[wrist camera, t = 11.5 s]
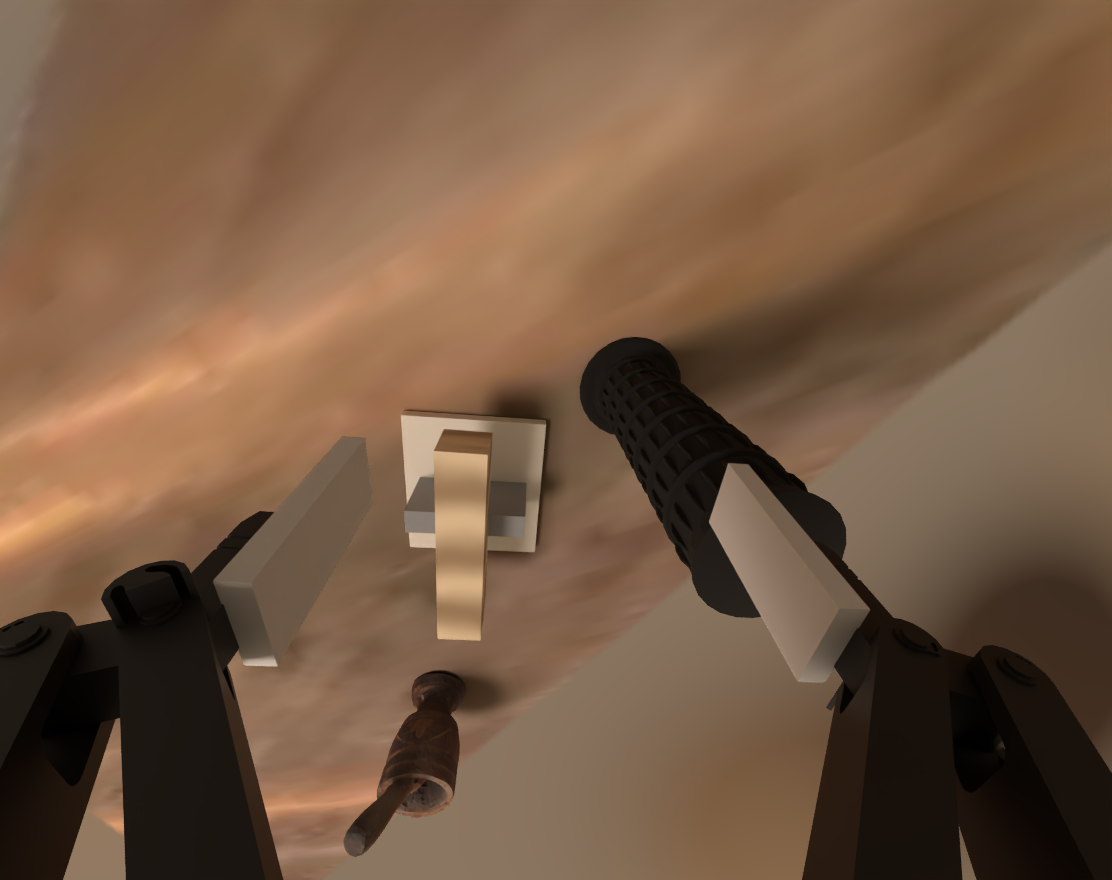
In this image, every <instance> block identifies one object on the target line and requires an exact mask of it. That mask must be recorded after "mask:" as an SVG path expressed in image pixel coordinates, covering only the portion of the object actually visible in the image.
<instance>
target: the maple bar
mask: <svg viewBox="0 0 1112 880" xmlns="http://www.w3.org/2000/svg"><path fill="white" fill-rule="evenodd" d="M492 435H493V433H491V432H478V431H465V430H452V429H444V430H443V432H442V434H441V436H440V438H439V441H438V443H437V445H436V447H435V449H434V492H435V538H436V585H437V632H438V639H455V640H481V632H482V625H483V617H484V610H485V593H486V571H487V548H488V525H489V503H490V480H491V458H492Z"/></svg>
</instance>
